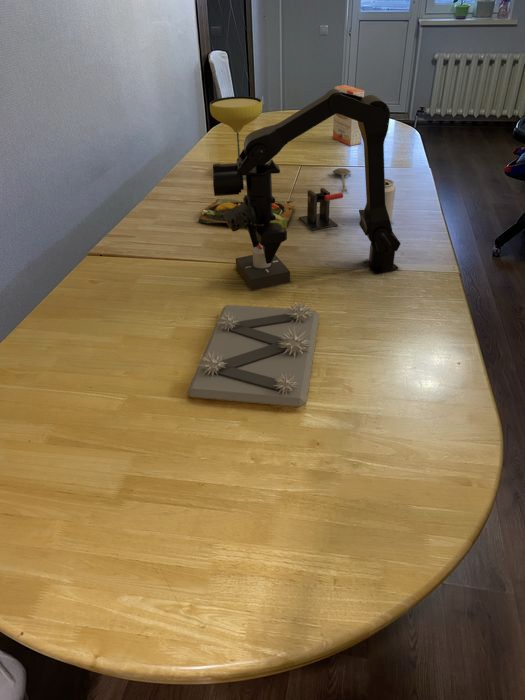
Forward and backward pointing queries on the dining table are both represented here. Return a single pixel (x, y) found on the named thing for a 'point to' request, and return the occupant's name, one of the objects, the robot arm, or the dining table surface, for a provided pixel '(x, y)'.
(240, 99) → the cocktail glass
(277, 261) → the dial panel
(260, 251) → the knob
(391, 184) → the can
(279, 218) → the prepared meal
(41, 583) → the dining table surface
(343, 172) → the soupspoon
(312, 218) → the dark grey lever stand
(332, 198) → the toast lever
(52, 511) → the dining table surface
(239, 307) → the decorative plate
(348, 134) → the cracker box
